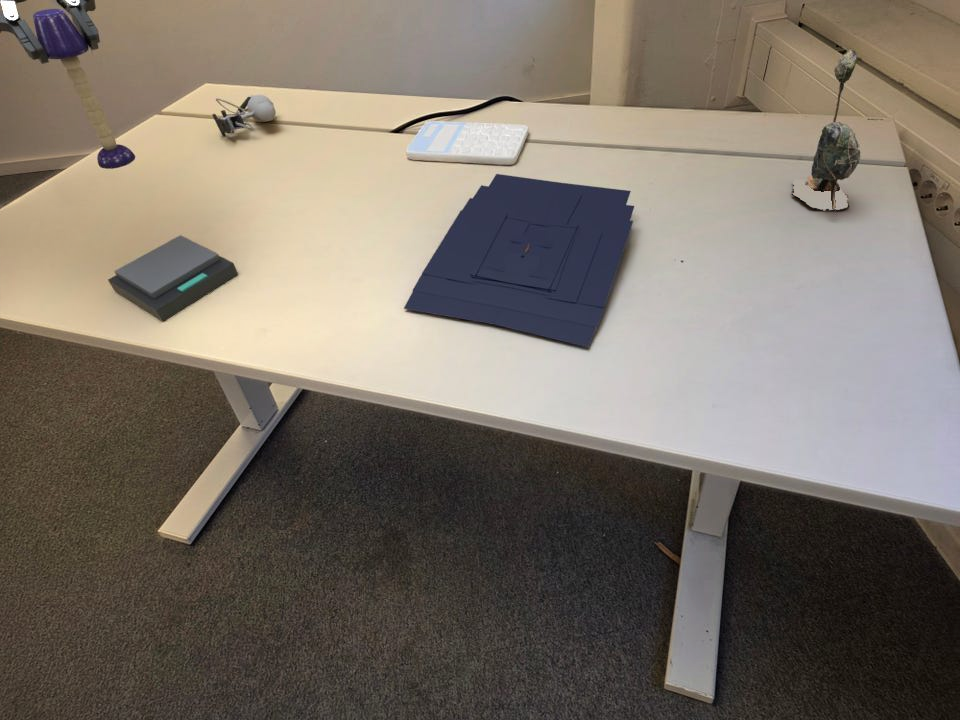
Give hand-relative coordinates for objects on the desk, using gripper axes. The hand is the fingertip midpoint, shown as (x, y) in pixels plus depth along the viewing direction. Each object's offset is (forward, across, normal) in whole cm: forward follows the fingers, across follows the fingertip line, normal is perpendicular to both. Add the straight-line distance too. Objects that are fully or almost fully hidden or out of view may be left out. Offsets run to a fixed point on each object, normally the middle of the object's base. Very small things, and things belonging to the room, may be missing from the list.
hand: (69, 51), depth 65 cm
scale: (+22, +1, -20) cm, 30 cm away
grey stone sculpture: (+61, -74, +19) cm, 98 cm away
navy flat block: (+46, -35, +4) cm, 58 cm away
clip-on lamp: (-8, -32, -50) cm, 60 cm away
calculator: (+23, -54, -20) cm, 61 cm away
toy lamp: (+8, 0, -11) cm, 14 cm away
